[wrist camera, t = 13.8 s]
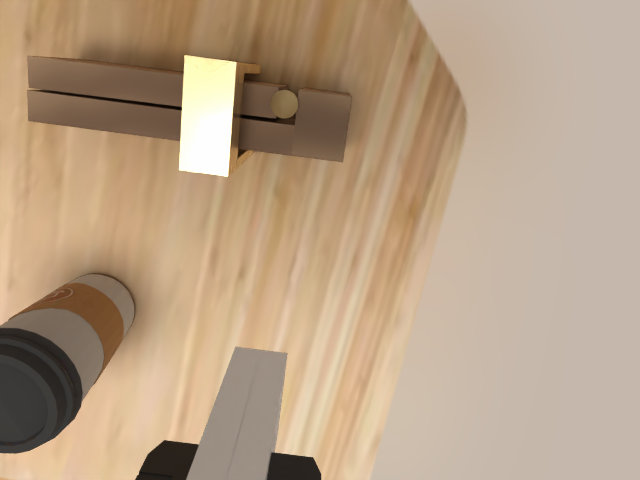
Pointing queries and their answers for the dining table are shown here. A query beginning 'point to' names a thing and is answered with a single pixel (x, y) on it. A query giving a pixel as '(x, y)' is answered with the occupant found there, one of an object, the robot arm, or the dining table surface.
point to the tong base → (255, 132)
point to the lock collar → (212, 115)
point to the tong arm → (133, 83)
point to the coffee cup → (57, 357)
